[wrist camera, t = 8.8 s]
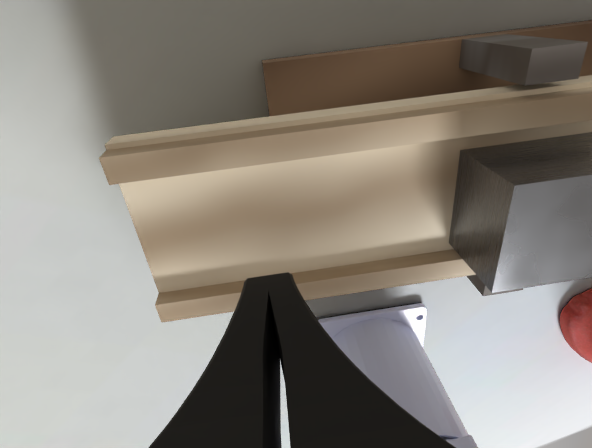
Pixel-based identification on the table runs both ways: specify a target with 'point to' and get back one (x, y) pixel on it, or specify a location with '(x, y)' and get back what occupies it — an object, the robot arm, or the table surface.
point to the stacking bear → (578, 324)
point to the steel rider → (525, 212)
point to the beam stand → (429, 71)
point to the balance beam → (320, 191)
